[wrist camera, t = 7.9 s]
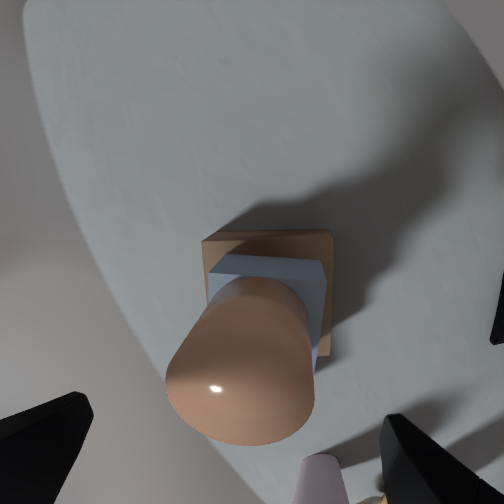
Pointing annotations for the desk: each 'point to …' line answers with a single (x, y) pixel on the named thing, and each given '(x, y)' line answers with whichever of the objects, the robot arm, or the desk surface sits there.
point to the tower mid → (282, 270)
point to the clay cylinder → (246, 365)
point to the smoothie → (320, 481)
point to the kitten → (375, 500)
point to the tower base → (284, 246)
